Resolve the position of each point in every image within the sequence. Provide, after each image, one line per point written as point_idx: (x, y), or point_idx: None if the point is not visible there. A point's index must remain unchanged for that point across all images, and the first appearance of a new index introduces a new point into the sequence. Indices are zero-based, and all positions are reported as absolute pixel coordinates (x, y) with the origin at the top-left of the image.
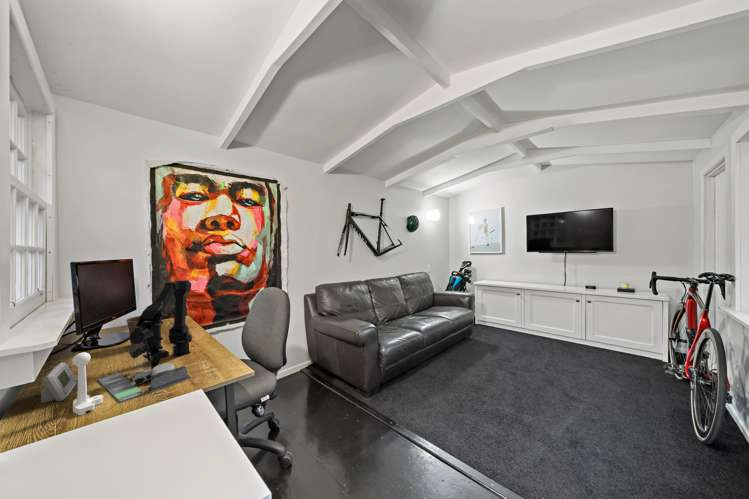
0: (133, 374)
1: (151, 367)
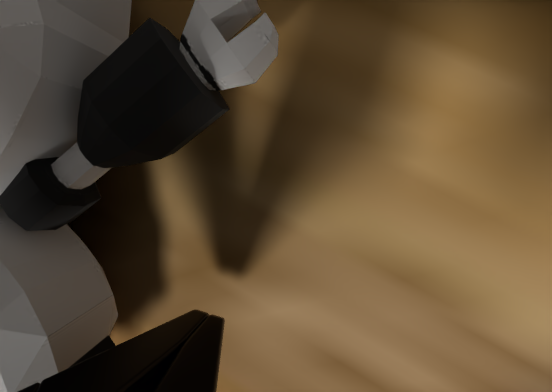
0: (253, 24)
1: (157, 338)
